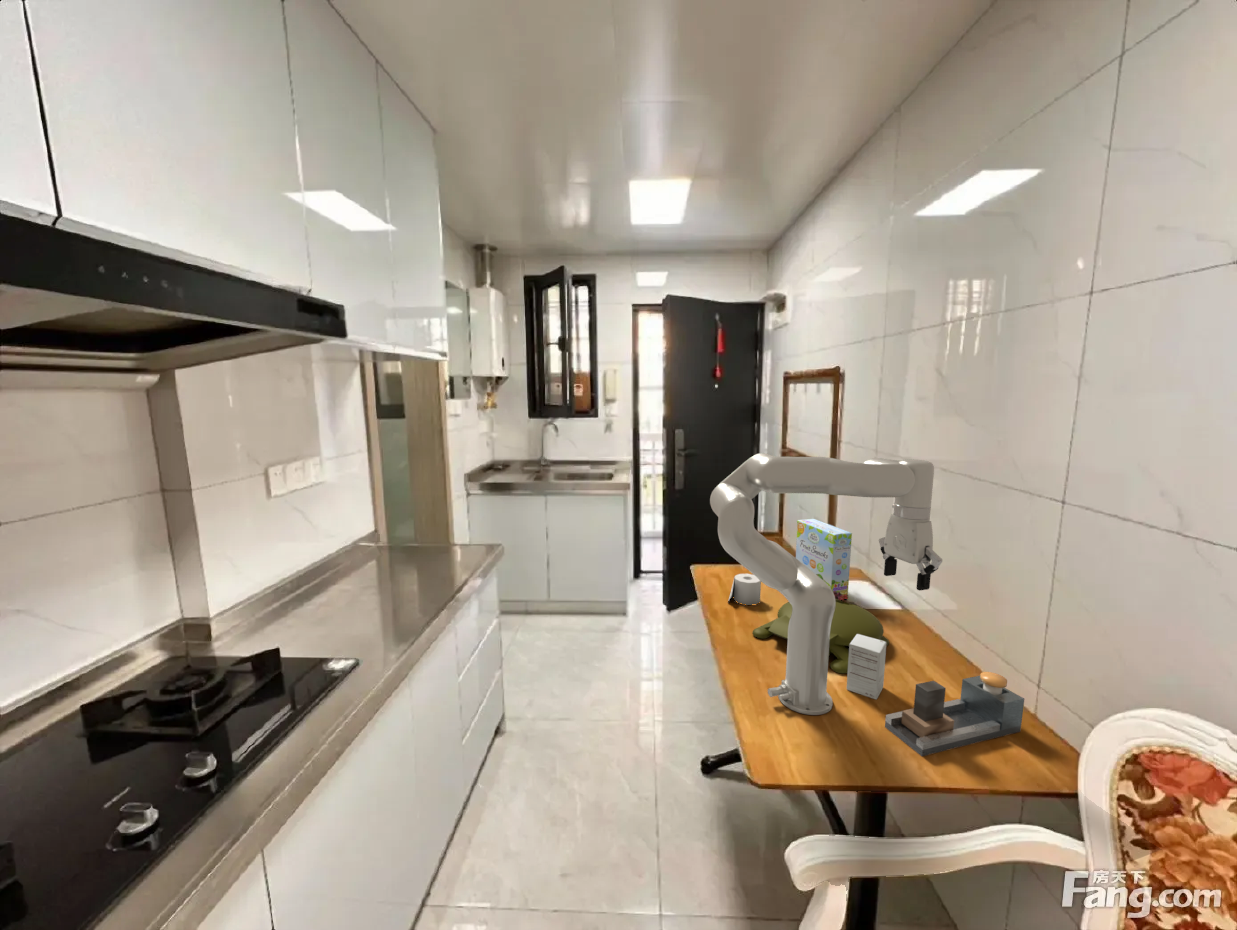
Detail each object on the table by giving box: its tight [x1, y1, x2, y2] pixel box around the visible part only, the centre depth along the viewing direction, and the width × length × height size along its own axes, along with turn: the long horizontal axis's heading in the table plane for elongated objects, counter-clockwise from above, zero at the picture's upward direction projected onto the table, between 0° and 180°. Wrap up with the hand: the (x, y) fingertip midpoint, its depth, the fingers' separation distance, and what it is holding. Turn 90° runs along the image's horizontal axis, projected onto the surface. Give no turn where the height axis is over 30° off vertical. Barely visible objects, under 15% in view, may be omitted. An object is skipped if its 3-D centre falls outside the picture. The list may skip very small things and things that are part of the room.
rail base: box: [884, 675, 1025, 757], centre depth 117 cm, size 28×10×8 cm, turn 107°
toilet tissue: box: [727, 573, 762, 605], centre depth 187 cm, size 9×13×9 cm
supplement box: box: [846, 634, 887, 700], centre depth 132 cm, size 7×7×13 cm
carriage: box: [901, 680, 954, 738], centre depth 114 cm, size 8×6×10 cm
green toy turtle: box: [751, 599, 890, 675], centre depth 161 cm, size 35×31×10 cm
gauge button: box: [979, 671, 1008, 695], centre depth 120 cm, size 5×5×8 cm
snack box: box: [795, 518, 853, 601], centre depth 197 cm, size 22×9×26 cm, turn 17°
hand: (905, 582), depth 124 cm, fingers open, 9 cm apart
